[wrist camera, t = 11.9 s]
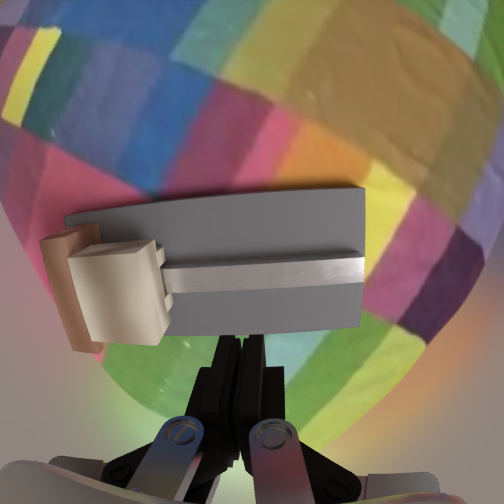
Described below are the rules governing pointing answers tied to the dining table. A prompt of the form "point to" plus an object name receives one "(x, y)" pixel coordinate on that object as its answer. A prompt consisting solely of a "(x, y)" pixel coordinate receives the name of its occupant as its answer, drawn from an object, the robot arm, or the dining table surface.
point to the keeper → (122, 291)
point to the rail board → (245, 240)
